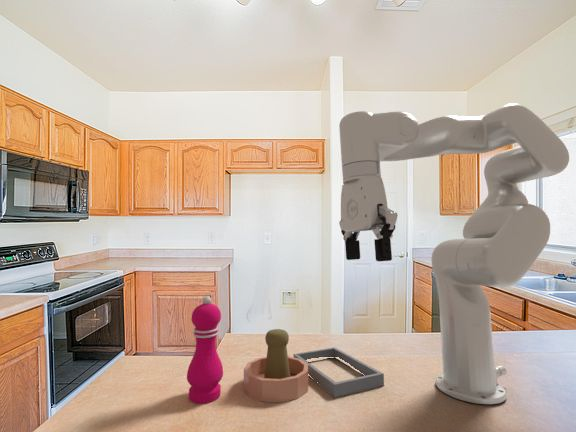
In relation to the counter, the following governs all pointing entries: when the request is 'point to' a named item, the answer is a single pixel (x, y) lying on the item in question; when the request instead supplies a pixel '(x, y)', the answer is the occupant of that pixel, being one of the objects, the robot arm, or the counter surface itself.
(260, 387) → the bowl
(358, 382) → the grey rectangular frame
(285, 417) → the counter surface
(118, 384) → the counter surface
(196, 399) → the pepper mill
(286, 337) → the olive pestle
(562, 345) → the counter surface
